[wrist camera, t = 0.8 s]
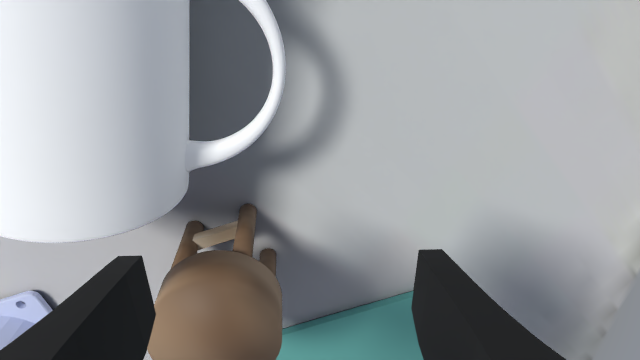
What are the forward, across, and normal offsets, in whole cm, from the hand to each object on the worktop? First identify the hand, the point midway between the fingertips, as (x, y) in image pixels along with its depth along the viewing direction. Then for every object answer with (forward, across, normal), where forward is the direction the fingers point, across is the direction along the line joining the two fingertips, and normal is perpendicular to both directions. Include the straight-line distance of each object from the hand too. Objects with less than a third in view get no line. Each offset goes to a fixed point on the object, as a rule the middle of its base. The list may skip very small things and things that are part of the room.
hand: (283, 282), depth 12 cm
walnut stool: (+11, +4, +6) cm, 13 cm away
